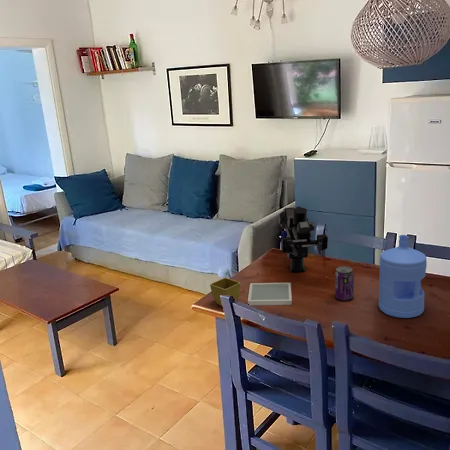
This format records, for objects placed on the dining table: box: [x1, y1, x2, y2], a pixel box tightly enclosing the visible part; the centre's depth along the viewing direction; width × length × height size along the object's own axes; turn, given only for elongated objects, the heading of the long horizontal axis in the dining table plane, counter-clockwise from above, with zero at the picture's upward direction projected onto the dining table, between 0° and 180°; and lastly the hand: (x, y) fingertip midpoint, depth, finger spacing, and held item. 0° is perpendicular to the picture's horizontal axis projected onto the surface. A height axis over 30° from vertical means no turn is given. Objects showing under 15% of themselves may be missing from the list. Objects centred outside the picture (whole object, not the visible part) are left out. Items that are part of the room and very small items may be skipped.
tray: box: [247, 282, 293, 306], centre depth 190 cm, size 17×17×2 cm
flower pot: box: [209, 277, 241, 306], centre depth 184 cm, size 9×9×9 cm
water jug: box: [378, 234, 428, 319], centre depth 168 cm, size 16×16×28 cm
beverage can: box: [334, 265, 355, 301], centre depth 182 cm, size 7×7×12 cm
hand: (308, 254), depth 185 cm, fingers open, 9 cm apart
